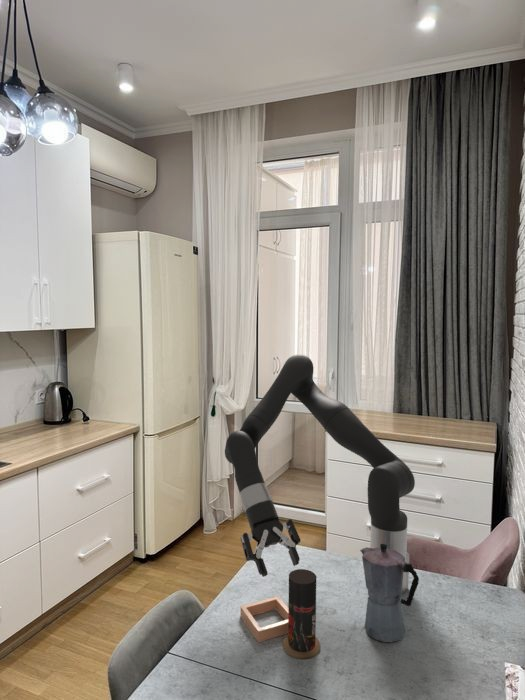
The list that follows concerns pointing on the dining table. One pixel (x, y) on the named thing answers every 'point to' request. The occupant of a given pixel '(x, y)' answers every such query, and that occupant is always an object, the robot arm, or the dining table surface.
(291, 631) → the deodorant
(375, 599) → the moka pot
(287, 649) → the coaster
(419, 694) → the dining table surface
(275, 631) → the orange square frame
